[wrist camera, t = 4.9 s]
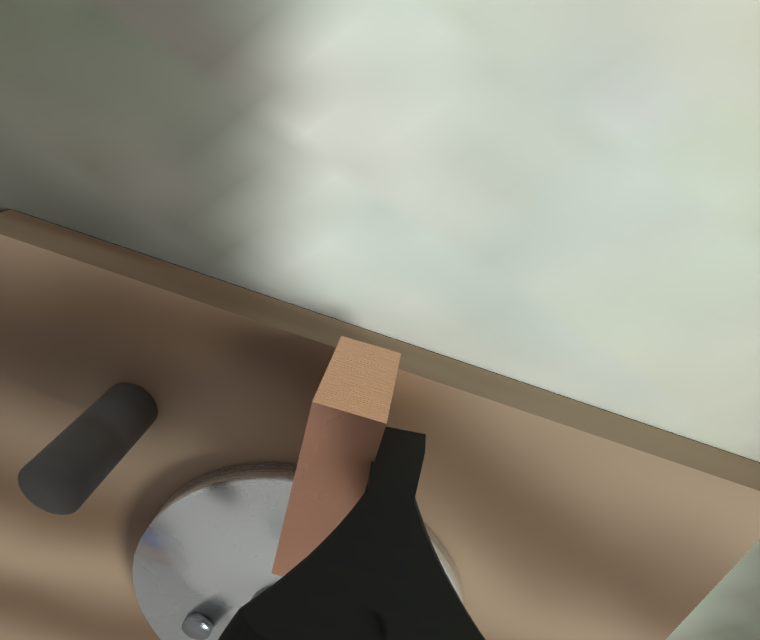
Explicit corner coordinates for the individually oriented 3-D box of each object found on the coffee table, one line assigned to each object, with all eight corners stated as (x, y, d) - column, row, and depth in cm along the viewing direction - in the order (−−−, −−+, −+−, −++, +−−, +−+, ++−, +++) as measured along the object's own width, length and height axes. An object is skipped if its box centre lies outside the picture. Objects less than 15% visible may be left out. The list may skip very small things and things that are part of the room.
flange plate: (411, 718, 20) (404, 816, 18) (141, 637, 20) (94, 722, 18) (577, 404, 13) (607, 488, 11) (167, 284, 13) (94, 337, 11)
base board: (504, 766, 24) (515, 928, 19) (21, 606, 23) (-82, 732, 19) (764, 464, 15) (891, 628, 11) (10, 209, 15) (-181, 268, 10)
